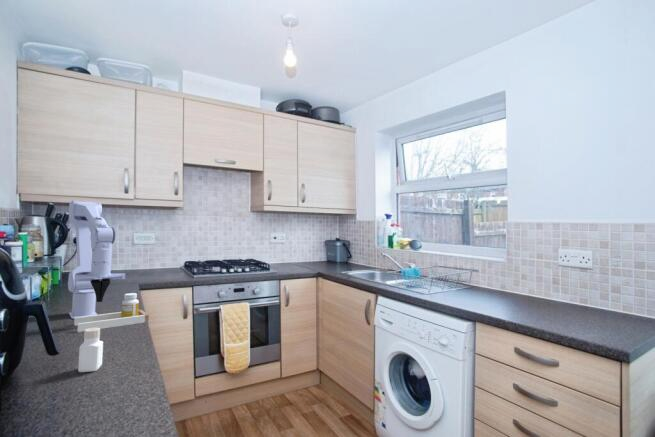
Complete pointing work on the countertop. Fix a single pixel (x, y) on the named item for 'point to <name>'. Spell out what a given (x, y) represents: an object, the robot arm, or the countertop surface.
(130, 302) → the supplement bottle
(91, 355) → the white square pill bottle
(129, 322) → the white shallow tray
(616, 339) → the countertop surface
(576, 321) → the countertop surface
